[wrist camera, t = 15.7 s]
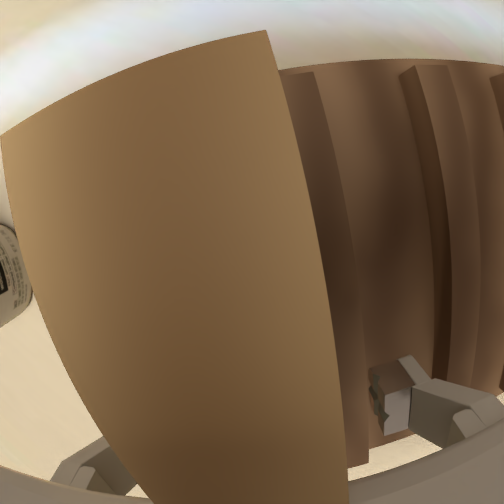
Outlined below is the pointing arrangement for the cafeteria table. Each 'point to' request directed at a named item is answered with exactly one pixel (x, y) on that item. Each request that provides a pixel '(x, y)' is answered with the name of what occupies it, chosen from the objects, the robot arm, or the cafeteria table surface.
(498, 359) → the slotted rack
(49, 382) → the cafeteria table surface
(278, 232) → the wooden picture frame
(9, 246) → the spray can
